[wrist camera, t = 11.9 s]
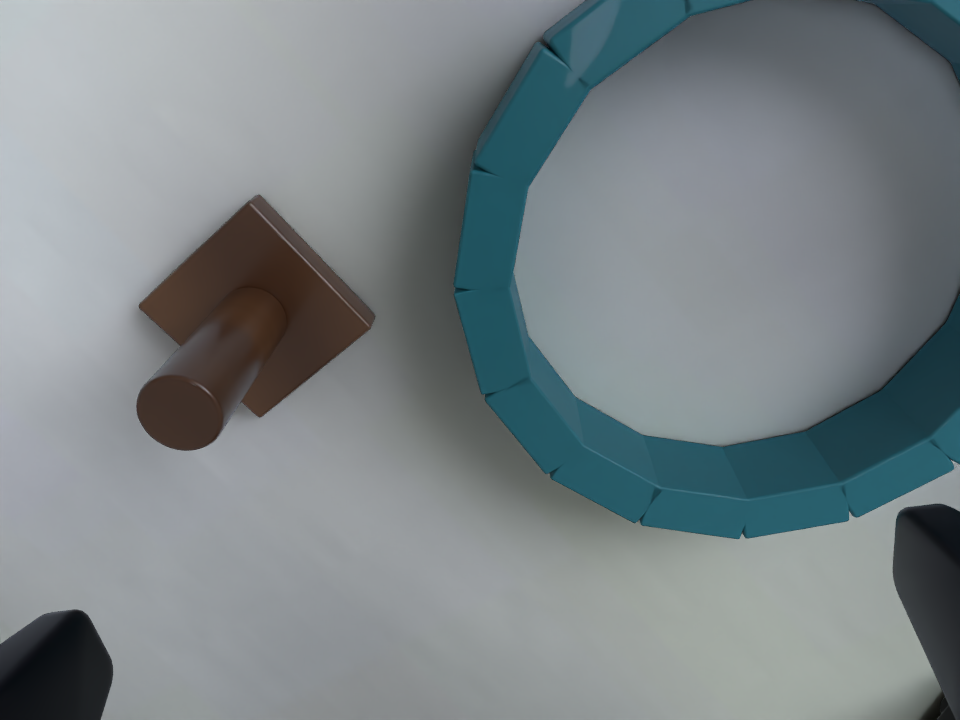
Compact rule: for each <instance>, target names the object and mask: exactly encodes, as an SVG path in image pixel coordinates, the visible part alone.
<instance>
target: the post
mask: <svg viewBox="0 0 960 720" xmlns="http://www.w3.org/2000/svg"><path fill="white" fill-rule="evenodd" d="M139 308H140V309H141V310H142V311H143V312H144V313H145V314H146V315H147V316H148V317H149V318H150V319H152V320H153V321H154V322H155V323H156V324H157V325H158V326H159V327H160V328H161V329H162V330H164V331H165V332H166V333H167V334H168V335H169V336H170V337H171V338H172V339H173V340H174V341H176V342H177V343H178V344H179V345H180V347H179V348H178V349H177V350H176V351H175V352H174V354H173V355H172V356H171V357H170V358H169V359H168V360H167V361H166V362H165V363H164V364H163V365H162V366H161V368H160V369H159V370H158V371H157V372H156V373H155V374H154V375H153V376H152V377H151V378H150V379H149V381H148V382H147V383H146V384H145V385H144V386H143V387H142V389H141V390H140V392H139V394H138V398H137V405H136V407H137V415H138V418H139V421H140V423H141V425H142V426H143V428H144V429H145V431H146V432H147V433H148V434H149V435H150V436H151V437H152V438H153V439H155V440H156V441H157V442H159V443H161V444H163V445H165V446H167V447H169V448H172V449H176V450H184V451H189V450H197V449H200V448H203V447H206V446H208V445H209V444H211V443H212V442H214V441H215V440H216V439H217V437H218V436H219V435H220V433H221V432H222V430H223V429H224V427H225V426H226V424H227V422H228V421H229V419H230V418H231V416H232V415H233V413H234V412H235V410H236V409H237V407H238V405H239V404H240V402H242V403H243V404H244V405H245V406H246V407H248V408H249V409H250V410H251V411H252V412H253V413H254V414H255V415H256V416H257V417H262V416H264V415H265V414H266V413H267V412H268V411H270V410H271V409H272V408H273V407H275V406H276V405H277V404H278V403H280V402H281V401H282V400H283V399H285V398H286V397H287V396H288V395H289V394H291V393H292V392H293V391H294V390H296V389H297V388H298V387H299V386H301V385H302V384H303V383H304V382H306V381H307V380H308V379H309V378H310V377H312V376H313V375H314V374H315V373H317V372H318V371H319V370H320V369H322V368H323V367H324V366H325V365H327V364H328V363H329V362H330V361H331V360H333V359H334V358H335V357H336V356H338V355H339V354H340V353H341V352H343V351H344V350H345V349H346V348H348V347H349V346H350V345H351V344H353V343H354V342H355V341H356V340H357V339H359V338H360V337H361V336H362V335H364V334H365V333H366V332H367V331H369V330H370V329H371V327H372V324H373V322H374V319H375V314H374V313H373V312H372V311H371V310H370V309H369V308H368V307H367V306H366V305H365V304H364V303H363V302H362V301H361V300H360V299H359V298H358V297H357V296H356V295H355V294H354V292H353V291H352V290H351V289H350V288H349V287H348V286H347V285H346V284H345V283H344V282H343V281H342V280H341V279H340V278H339V277H338V276H337V275H336V274H335V273H334V272H333V271H332V270H331V268H330V267H329V266H328V265H327V264H326V263H325V262H324V261H323V260H322V259H321V258H320V257H319V256H318V255H317V254H316V253H315V252H314V251H313V250H312V249H311V248H310V247H309V246H308V244H307V243H306V242H305V241H304V240H303V239H302V238H301V237H300V236H299V235H298V234H297V233H296V232H295V231H294V230H293V229H292V228H291V227H290V226H289V225H288V224H287V223H286V222H285V220H284V219H283V218H282V217H281V216H280V215H279V214H278V213H277V212H276V211H275V210H274V209H273V208H272V207H271V206H270V205H269V204H268V203H267V202H266V201H265V200H264V199H263V198H262V196H260V195H256V196H254V197H253V198H252V199H251V200H249V201H248V202H247V203H246V204H245V205H244V206H243V207H242V208H241V209H240V210H238V211H237V212H236V213H235V214H234V215H233V216H232V217H231V218H230V219H229V220H228V221H227V222H226V223H225V224H224V225H223V226H221V227H220V228H219V229H218V230H217V231H216V232H215V233H214V234H213V235H212V236H211V237H210V238H209V239H208V240H207V241H205V242H204V243H203V244H202V245H201V246H200V247H199V248H198V249H197V250H196V251H195V252H194V253H193V254H192V255H191V256H190V257H188V258H187V259H186V260H185V261H184V262H183V263H182V264H181V265H180V266H179V267H178V268H177V269H176V270H175V271H174V272H173V273H171V274H170V275H169V276H168V277H167V278H166V279H165V280H164V281H163V282H162V283H161V284H160V285H159V286H158V287H157V288H155V289H154V290H153V291H152V292H151V293H150V294H149V295H148V296H147V297H146V298H145V299H144V300H143V301H142V302H141V303H140V304H139Z"/></svg>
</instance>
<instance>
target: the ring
mask: <svg viewBox="0 0 960 720" xmlns="http://www.w3.org/2000/svg"><path fill="white" fill-rule="evenodd" d="M747 1H751V0H586V1H584V2H583V3H582V4H580V5H579V6H578V7H577V8H575V9H574V10H573V11H571V12H570V13H569V14H568V15H566V16H565V17H564V18H562V19H561V20H560V21H559V22H557V23H556V24H555V25H553V26H552V27H551V28H550V29H548V30H547V31H546V32H545V33H544V35H543V38H544V40H545V42H546V44H547V45H548V47H549V48H548V47H547V46H545V45H544V44H542V43H541V42H536V43H535V44H534V46H533V47H532V49H531V51H530V52H529V54H528V56H527V58H526V59H525V61H524V63H523V64H522V66H521V68H520V69H519V71H518V73H517V75H516V76H515V78H514V80H513V81H512V83H511V85H510V86H509V88H508V90H507V92H506V93H505V95H504V97H503V98H502V100H501V102H500V103H499V105H498V107H497V108H496V110H495V112H494V114H493V115H492V117H491V119H490V120H489V122H488V124H487V125H486V127H485V129H484V131H483V132H482V134H481V136H480V137H479V139H478V142H477V148H476V150H474V152H473V157H472V162H471V168H470V173H469V180H468V187H467V194H466V201H465V208H464V214H463V221H462V228H461V235H460V242H459V249H458V256H457V262H456V269H455V276H454V283H453V285H454V287H455V291H454V298H455V302H456V305H457V309H458V313H459V316H460V320H461V323H462V327H463V331H464V334H465V338H466V341H467V345H468V349H469V352H470V356H471V360H472V363H473V367H474V370H475V374H476V378H477V381H478V385H479V388H480V392H481V394H482V395H484V394H485V401H486V403H487V404H488V405H489V406H490V407H491V409H492V410H493V411H494V412H495V413H496V415H497V416H498V417H499V418H500V420H501V421H502V422H503V423H504V424H505V426H506V427H507V428H508V429H509V430H510V432H511V433H512V434H513V435H514V437H515V438H516V439H517V440H518V441H519V443H520V444H521V445H522V446H523V447H524V449H525V450H526V451H527V452H528V454H529V455H530V456H531V457H532V458H533V460H534V461H535V462H536V463H537V464H538V466H539V467H540V468H541V469H542V471H543V472H544V473H545V474H548V473H550V478H551V479H552V480H554V481H556V482H558V483H560V484H562V485H564V486H565V487H567V488H569V489H571V490H573V491H575V492H577V493H579V494H580V495H582V496H584V497H586V498H588V499H590V500H592V501H594V502H595V503H597V504H599V505H601V506H603V507H605V508H607V509H609V510H610V511H612V512H614V513H616V514H618V515H620V516H622V517H624V518H626V519H627V520H629V521H631V522H633V523H636V522H637V521H638V520H640V524H641V525H642V526H649V527H656V528H663V529H670V530H677V531H684V532H691V533H698V534H705V535H712V536H719V537H727V538H734V539H739V538H740V536H741V534H742V533H743V535H744V537H745V538H753V537H759V536H765V535H771V534H777V533H782V532H788V531H794V530H800V529H806V528H811V527H817V526H823V525H829V524H835V523H840V522H846V521H848V520H849V511H850V513H851V514H852V516H854V517H856V518H857V517H860V516H862V515H864V514H866V513H868V512H870V511H872V510H874V509H876V508H878V507H880V506H882V505H884V504H886V503H888V502H890V501H892V500H894V499H896V498H898V497H900V496H902V495H904V494H906V493H908V492H910V491H912V490H914V489H916V488H918V487H920V486H922V485H924V484H926V483H928V482H930V481H932V480H934V479H936V478H938V477H940V476H942V475H944V474H946V473H948V472H950V471H952V470H953V469H954V465H953V463H952V461H951V460H953V461H955V462H956V463H958V464H960V294H959V296H958V298H957V300H956V302H955V305H954V307H953V309H952V311H951V313H950V316H949V318H948V320H947V322H946V323H945V324H944V325H943V326H942V328H941V329H940V330H939V331H938V332H937V333H936V334H935V335H934V336H933V337H932V338H931V339H930V340H929V341H928V342H927V343H926V344H925V345H924V346H923V347H922V348H921V349H920V350H919V352H918V353H917V354H916V355H915V356H914V357H913V358H912V359H911V360H910V361H909V362H908V363H907V364H906V365H905V366H904V367H903V368H902V369H901V370H900V371H899V372H898V373H897V375H896V376H895V377H894V378H893V379H892V380H891V381H890V382H889V383H888V384H887V385H886V386H885V387H884V388H883V389H882V390H881V391H879V392H877V393H875V394H873V395H872V396H870V397H868V398H866V399H864V400H862V401H861V402H859V403H857V404H855V405H853V406H851V407H849V408H848V409H846V410H844V411H842V412H840V413H838V414H837V415H835V416H833V417H831V418H829V419H827V420H825V421H824V422H822V423H820V424H818V425H816V426H814V427H813V428H811V429H809V430H807V431H805V432H799V433H794V434H789V435H783V436H778V437H773V438H767V439H762V440H757V441H752V442H746V443H741V444H736V445H730V446H725V447H719V446H712V445H705V444H699V443H692V442H685V441H678V440H671V439H664V438H658V437H651V436H644V435H641V434H640V433H638V432H636V431H634V430H632V429H631V428H629V427H627V426H625V425H624V424H622V423H620V422H618V421H616V420H615V419H613V418H611V417H609V416H608V415H606V414H604V413H602V412H600V411H599V410H597V409H595V408H593V407H592V406H590V405H588V404H586V403H584V402H583V401H581V400H579V399H577V398H576V397H575V396H574V395H573V394H572V392H571V391H570V390H569V388H568V387H567V386H566V384H565V383H564V382H563V380H562V379H561V378H560V377H559V375H558V374H557V373H556V371H555V370H554V369H553V367H552V366H551V365H550V364H549V362H548V361H547V360H546V358H545V357H544V356H543V354H542V353H541V352H540V350H539V349H538V348H537V347H536V345H535V344H534V343H533V341H532V340H531V339H530V337H529V336H528V332H527V328H526V323H525V319H524V315H523V311H522V307H521V302H520V298H519V294H518V290H517V286H516V281H515V277H514V273H513V271H514V265H515V259H516V254H517V248H518V243H519V237H520V232H521V226H522V221H523V215H524V210H525V204H526V199H527V193H528V188H529V186H530V184H531V183H532V181H533V180H534V178H535V176H536V175H537V173H538V172H539V170H540V169H541V167H542V165H543V164H544V162H545V161H546V159H547V158H548V156H549V154H550V153H551V151H552V150H553V148H554V146H555V145H556V143H557V142H558V140H559V139H560V137H561V135H562V134H563V132H564V131H565V129H566V128H567V126H568V124H569V123H570V121H571V120H572V118H573V117H574V115H575V113H576V112H577V110H578V109H579V107H580V106H581V104H582V102H583V101H584V99H585V98H586V96H587V95H588V93H589V91H590V90H591V89H592V88H594V87H595V86H596V85H598V84H599V83H601V82H602V81H603V80H605V79H606V78H607V77H609V76H610V75H611V74H613V73H614V72H615V71H617V70H618V69H620V68H621V67H622V66H624V65H625V64H626V63H628V62H629V61H630V60H632V59H633V58H634V57H636V56H637V55H639V54H640V53H641V52H643V51H644V50H645V49H647V48H648V47H649V46H651V45H652V44H653V43H655V42H656V41H658V40H659V39H660V38H662V37H663V36H664V35H666V34H667V33H668V32H670V31H671V30H672V29H674V28H675V27H677V26H678V25H679V24H681V23H682V22H683V21H685V20H686V19H687V18H689V17H690V16H693V15H697V14H701V13H705V12H708V11H712V10H716V9H720V8H724V7H728V6H731V5H735V4H739V3H743V2H747ZM856 1H862V2H868V3H873V4H875V5H876V6H878V7H879V8H880V9H882V10H883V11H884V12H886V13H887V14H888V15H890V16H891V17H892V18H893V19H895V20H896V21H897V22H899V23H900V24H901V25H903V26H904V27H905V28H907V29H908V30H909V31H910V32H912V33H913V34H914V35H916V36H917V37H918V38H920V39H921V40H922V41H924V42H925V43H926V44H927V45H929V46H930V47H931V48H933V49H934V50H935V51H937V52H938V53H939V54H941V55H942V56H943V57H945V58H946V59H947V60H948V61H950V62H951V64H952V66H953V69H954V71H955V73H956V75H957V78H958V80H959V82H960V0H856Z"/></svg>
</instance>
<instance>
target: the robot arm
mask: <svg viewBox="0 0 960 720" xmlns="http://www.w3.org/2000/svg"><path fill="white" fill-rule="evenodd" d="M893 578H894V583H895V586H896V590H897V592H898V595H899V597H900V599H901V601H902V604H903V606H904V608H905V610H906V612H907V615H908V617H909V619H910V621H911V623H912V625H913V628H914V630H915V632H916V634H917V636H918V639H919V641H920V643H921V645H922V647H923V649H924V652H925V654H926V656H927V658H928V660H929V663H930V665H931V667H932V669H933V671H934V673H935V676H936V678H937V680H938V682H939V684H940V687H941V689H942V691H943V693H944V695H945V697H946V700H947V702H948V704H949V706H950V708H951V710H952V712H953V714H954V717H955V719H956V720H960V511H958V510H956V509H954V508H951V507H949V506H947V505H944V504H930V505H922V506H914V507H906V508H904V509H902V510H901V511H900V512H899V513H898V516H897V519H896V529H895V543H894V557H893ZM112 678H113V665H112V660H111V658H110V656H109V654H108V652H107V650H106V648H105V646H104V644H103V642H102V640H101V638H100V636H99V635H98V633H97V631H96V629H95V627H94V625H93V623H92V621H91V619H90V618H89V616H88V615H87V614H86V613H84V612H83V611H81V610H75V609H74V610H66V611H58V612H51V613H47V614H44V615H42V616H40V617H38V618H37V619H36V620H34V621H33V622H31V623H30V624H28V625H27V626H26V627H24V628H23V629H21V630H20V631H18V632H17V633H16V634H14V635H13V636H11V637H10V638H8V639H7V640H6V641H4V642H3V643H1V644H0V720H101V716H102V713H103V710H104V707H105V703H106V700H107V697H108V694H109V690H110V687H111V684H112Z"/></svg>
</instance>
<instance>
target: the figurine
mask: <svg viewBox="0 0 960 720" xmlns="http://www.w3.org/2000/svg"><path fill="white" fill-rule="evenodd" d="M940 710H941V715H940V716H939V717H938V718H937V720H956V719H955V717H954V714H953V712H952V710H951V708H950V706H949V704H948V702H947V700H946V697H945V698H943V699H942V701H941V704H940Z"/></svg>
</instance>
